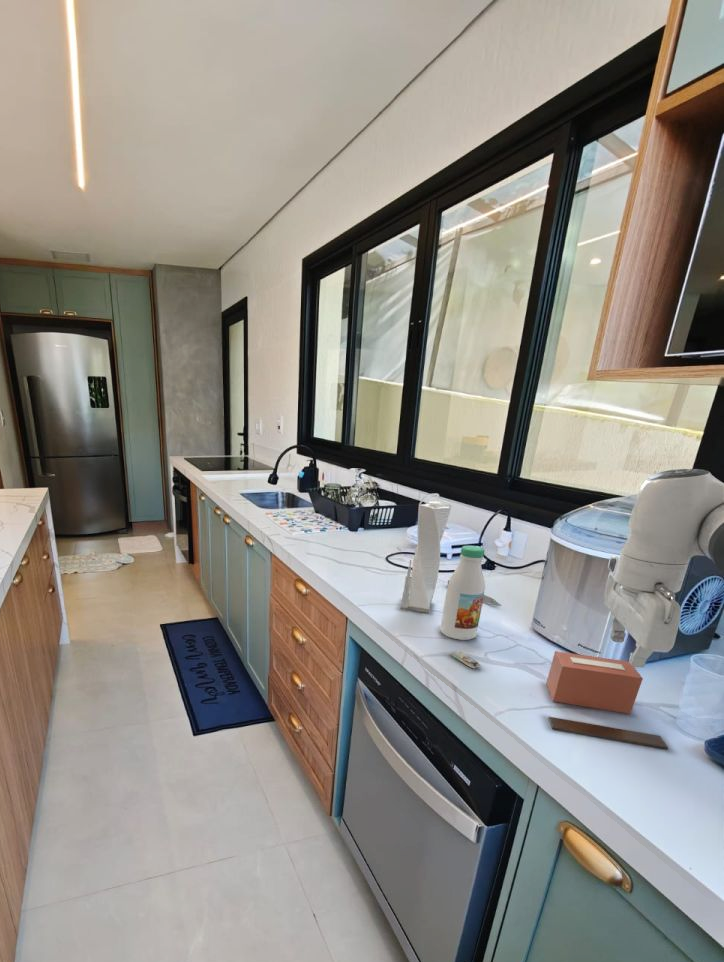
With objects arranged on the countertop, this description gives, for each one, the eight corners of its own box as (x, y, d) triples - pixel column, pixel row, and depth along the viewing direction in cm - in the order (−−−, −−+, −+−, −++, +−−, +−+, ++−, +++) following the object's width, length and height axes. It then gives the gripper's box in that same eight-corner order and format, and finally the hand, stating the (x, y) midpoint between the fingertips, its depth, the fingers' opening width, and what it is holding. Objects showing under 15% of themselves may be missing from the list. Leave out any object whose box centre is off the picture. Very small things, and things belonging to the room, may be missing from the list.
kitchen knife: (446, 586, 143) (447, 579, 142) (449, 585, 143) (450, 579, 142) (499, 609, 128) (501, 601, 127) (502, 608, 128) (503, 601, 127)
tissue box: (545, 684, 94) (555, 650, 91) (618, 695, 91) (630, 660, 88) (552, 701, 88) (562, 665, 86) (630, 714, 85) (643, 677, 83)
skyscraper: (403, 597, 133) (418, 491, 123) (435, 602, 131) (453, 494, 120) (400, 609, 126) (415, 496, 115) (433, 614, 123) (452, 500, 113)
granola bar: (448, 655, 103) (449, 650, 103) (456, 653, 104) (457, 648, 104) (473, 670, 98) (473, 665, 97) (481, 668, 98) (482, 663, 98)
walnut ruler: (659, 737, 79) (660, 735, 79) (667, 749, 77) (668, 747, 76) (548, 718, 83) (548, 716, 83) (552, 728, 81) (552, 726, 81)
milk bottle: (438, 636, 111) (452, 549, 104) (441, 623, 118) (455, 541, 111) (475, 643, 109) (492, 554, 101) (476, 629, 115) (492, 545, 108)
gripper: (704, 598, 70) (674, 685, 75) (647, 558, 88) (626, 630, 93) (651, 593, 71) (625, 679, 76) (606, 555, 89) (587, 626, 94)
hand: (625, 652), depth 85 cm, fingers open, 8 cm apart
